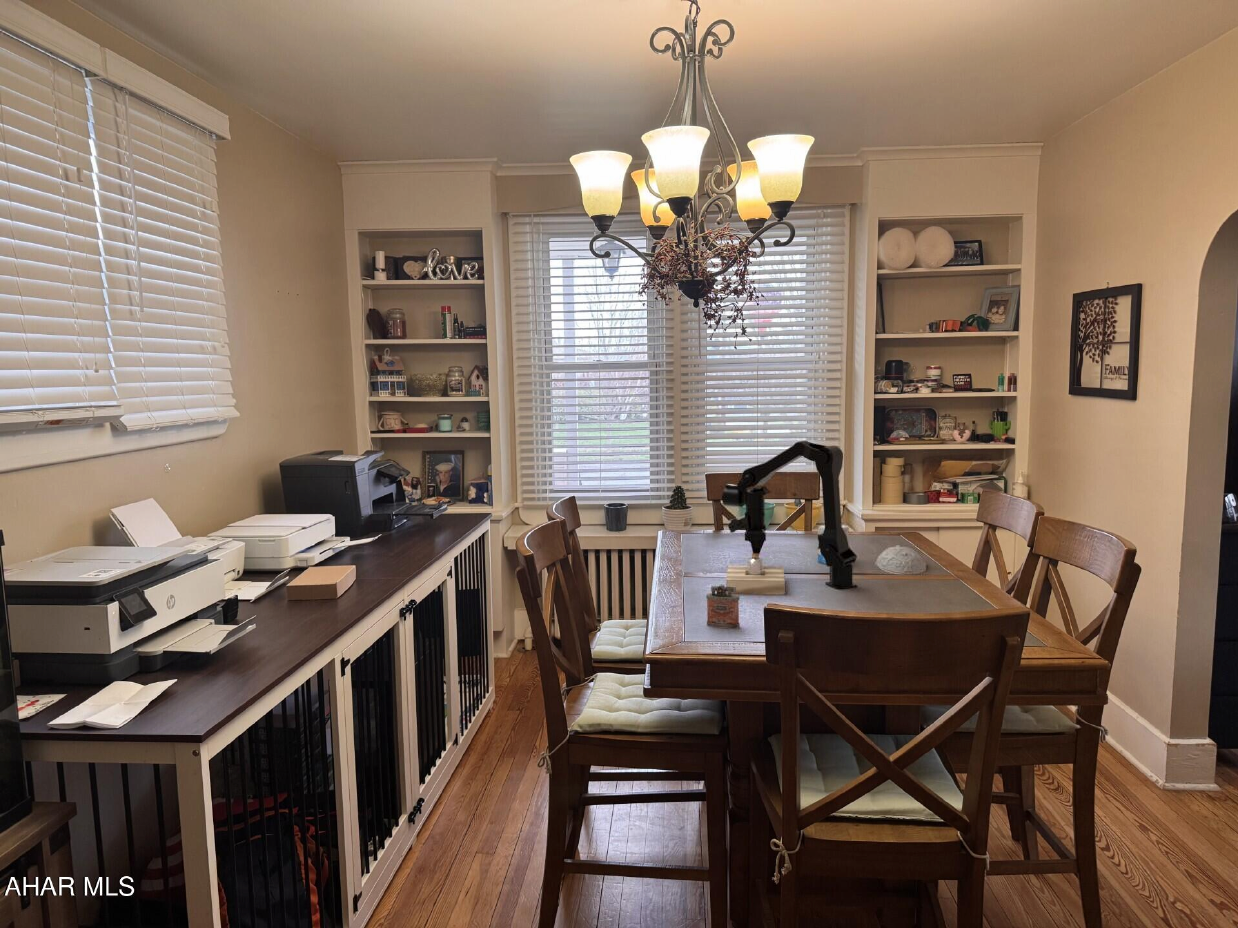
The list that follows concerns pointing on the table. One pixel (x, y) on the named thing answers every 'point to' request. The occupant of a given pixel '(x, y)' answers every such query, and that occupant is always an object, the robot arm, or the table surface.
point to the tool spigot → (755, 566)
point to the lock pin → (755, 555)
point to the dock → (756, 580)
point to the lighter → (723, 607)
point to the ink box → (820, 531)
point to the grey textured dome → (901, 561)
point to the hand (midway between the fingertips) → (755, 558)
